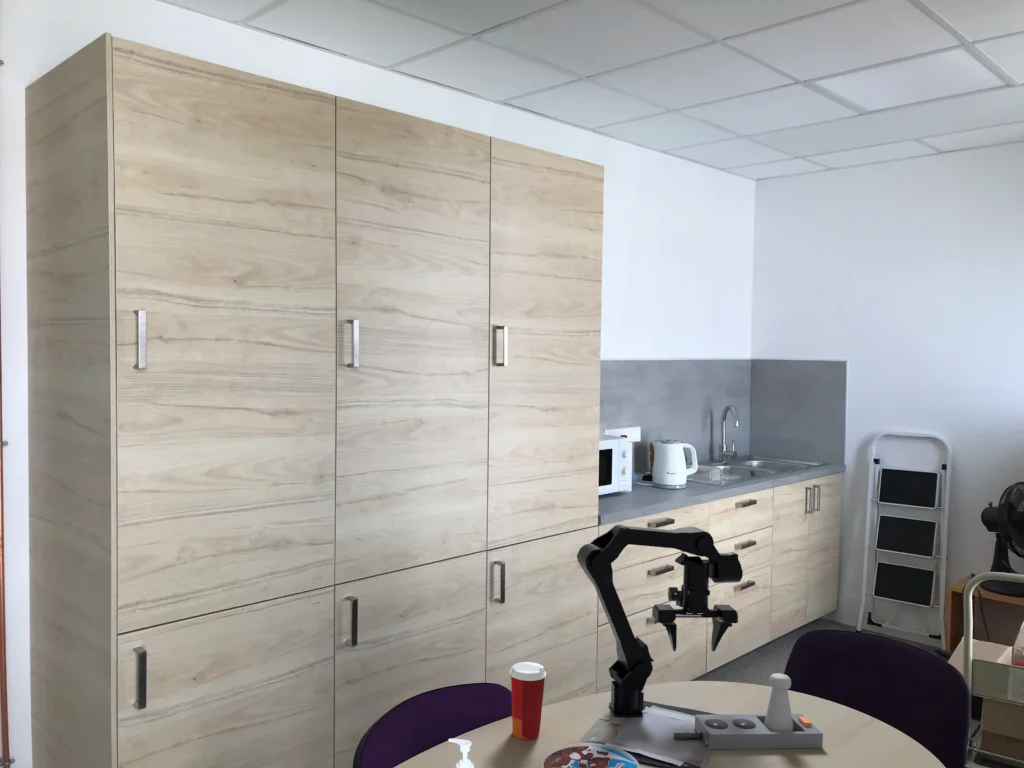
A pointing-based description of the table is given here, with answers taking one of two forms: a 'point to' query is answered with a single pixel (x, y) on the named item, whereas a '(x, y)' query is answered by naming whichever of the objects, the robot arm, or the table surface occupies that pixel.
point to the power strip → (752, 732)
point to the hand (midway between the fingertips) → (693, 650)
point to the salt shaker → (779, 705)
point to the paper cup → (527, 699)
